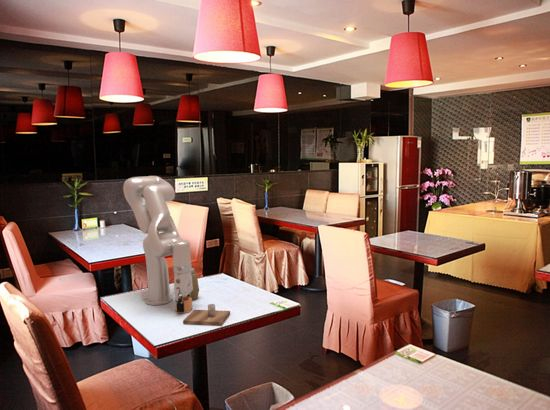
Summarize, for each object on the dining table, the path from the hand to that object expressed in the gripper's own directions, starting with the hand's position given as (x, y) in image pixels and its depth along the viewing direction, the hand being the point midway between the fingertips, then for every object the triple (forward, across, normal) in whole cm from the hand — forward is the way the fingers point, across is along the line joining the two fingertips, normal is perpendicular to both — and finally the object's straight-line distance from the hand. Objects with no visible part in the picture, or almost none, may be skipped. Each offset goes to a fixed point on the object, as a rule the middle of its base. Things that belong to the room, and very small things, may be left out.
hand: (183, 308), depth 181 cm
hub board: (+1, -8, -14) cm, 16 cm away
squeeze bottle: (+1, +15, +2) cm, 15 cm away
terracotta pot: (+1, 0, 0) cm, 1 cm away
